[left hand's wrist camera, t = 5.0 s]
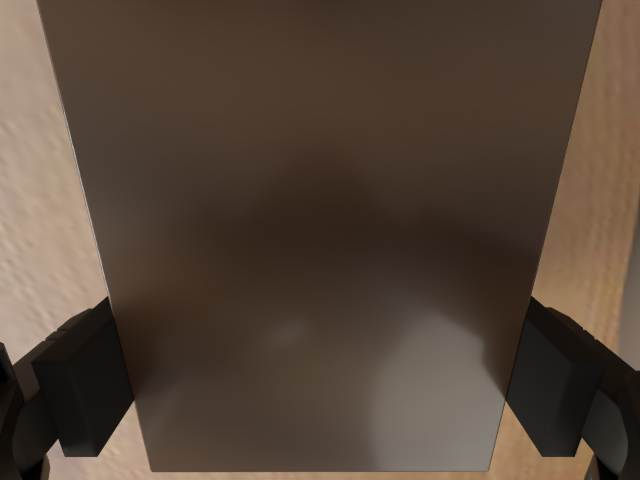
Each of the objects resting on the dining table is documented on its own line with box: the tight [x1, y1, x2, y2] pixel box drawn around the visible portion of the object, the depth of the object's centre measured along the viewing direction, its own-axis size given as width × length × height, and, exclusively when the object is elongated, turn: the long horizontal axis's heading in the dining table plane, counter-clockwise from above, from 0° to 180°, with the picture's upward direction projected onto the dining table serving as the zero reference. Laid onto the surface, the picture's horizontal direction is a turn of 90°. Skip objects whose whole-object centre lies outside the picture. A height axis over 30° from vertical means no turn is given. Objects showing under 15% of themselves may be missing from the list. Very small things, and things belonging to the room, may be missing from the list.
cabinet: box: [36, 0, 603, 472], centre depth 12 cm, size 17×10×9 cm, turn 0°
